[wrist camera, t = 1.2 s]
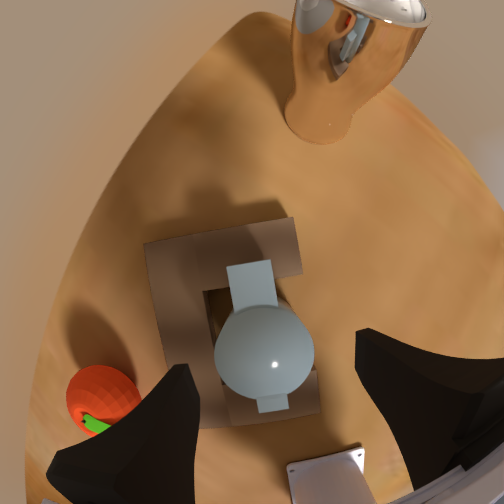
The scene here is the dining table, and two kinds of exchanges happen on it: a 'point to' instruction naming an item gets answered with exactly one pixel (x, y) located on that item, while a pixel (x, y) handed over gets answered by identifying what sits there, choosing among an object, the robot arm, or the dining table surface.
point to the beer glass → (346, 59)
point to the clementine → (100, 398)
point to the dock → (200, 319)
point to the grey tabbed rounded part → (262, 340)
